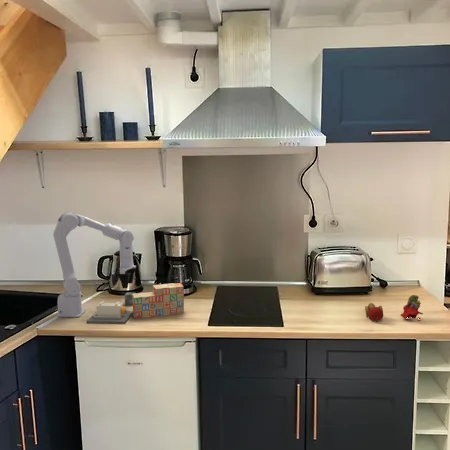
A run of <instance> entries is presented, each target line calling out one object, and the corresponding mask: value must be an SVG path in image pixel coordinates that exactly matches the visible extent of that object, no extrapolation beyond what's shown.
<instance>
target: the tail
mask: <svg viewBox="0 0 450 450" xmlns="http://www.w3.org/2000/svg"><path fill="white" fill-rule="evenodd" d="M132 294H137V293H136V292H126V293H125V294H124V305H125V306H129V307H131V306H132V307H133V299H132Z"/></svg>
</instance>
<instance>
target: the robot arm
mask: <svg viewBox="0 0 450 450" xmlns="http://www.w3.org/2000/svg"><path fill="white" fill-rule="evenodd" d="M83 226H84V227H85V226H86V227H88V228H92V229H94V230H98V231H101V232H102V235H103V236H105V237H108V238H111V239H113V240H117V241H119V264H120V265H119V272H117V273H116V274H117V275H116V276H117V277H118V278H119V281H120V283H121V287H122V289H128V287H129V284H133V282H134V276H135V273H136V271H137V265H134V258H133V257H134V254H133V253H134V252H133V251H134V250H133V241H134V239H135V237H134V234H133V233H132V232H131V231H129V230H128V229H126V228H125V227H123V226H122V227H120V226H117V225H115V223H113V222H110V223H109V222H107V223H105V224H104V223H102V222H99V221H96V220H94V219H92V218H89V217H87V216H85V215H82V214H79V213H73V212H70V211H67V212H64V213H62V214H61V215H60V216H59V218H57V222H56V226H55V227H54V230H53V235H52V236H53V240H54V242H55V248H56V251H57V255H58V260H59V263H60V268H61V272H62V278H63V282H62V287H63V288H64V289H65V291H64V292H63V293H60V294H59V295H58V296H57V317H59V318H63V317H64V318H65V317H67V318H72V317H74V318H79V317H80V316H82V315H83V314H84V313H85V312H86V309H83V304H82V285H81V284H80V283H79V281H78V278H77V276H76V272H75V270H74V265H73V260H72V256H71V253H70V249H69V244H68V241H67V237H68V235H69V234H70V233H71V232H72V231H73V230H75V229H76V228H77V227H81V228H82V227H83Z"/></svg>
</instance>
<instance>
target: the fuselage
mask: <svg viewBox="0 0 450 450" xmlns="http://www.w3.org/2000/svg"><path fill="white" fill-rule="evenodd" d="M123 305H124V303H123V302H121V301H119V300H118V301H117V302H105V300H102V301H100V302H99V303H98V304H96V306H95V307H96V312H97V316H122V315H123V314H125V313H126V310H127V307H126V306H123Z"/></svg>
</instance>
